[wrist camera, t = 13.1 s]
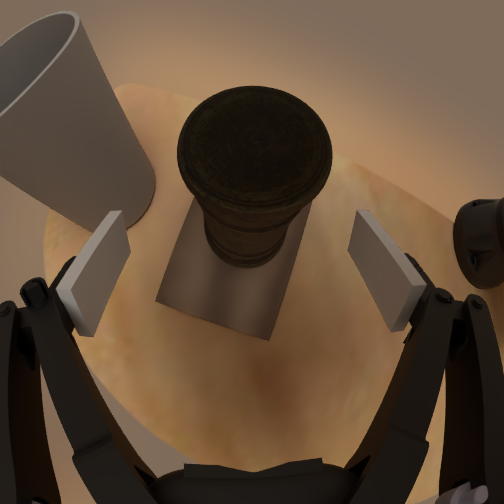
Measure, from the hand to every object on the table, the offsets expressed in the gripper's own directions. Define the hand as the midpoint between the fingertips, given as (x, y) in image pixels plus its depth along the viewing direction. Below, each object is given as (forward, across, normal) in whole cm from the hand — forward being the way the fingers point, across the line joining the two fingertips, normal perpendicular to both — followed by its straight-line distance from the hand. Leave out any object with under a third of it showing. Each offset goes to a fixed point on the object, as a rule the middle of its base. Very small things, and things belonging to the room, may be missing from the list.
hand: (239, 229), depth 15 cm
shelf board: (+16, +1, -10) cm, 19 cm away
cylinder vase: (+21, -17, -6) cm, 27 cm away
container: (+14, +1, -8) cm, 16 cm away
